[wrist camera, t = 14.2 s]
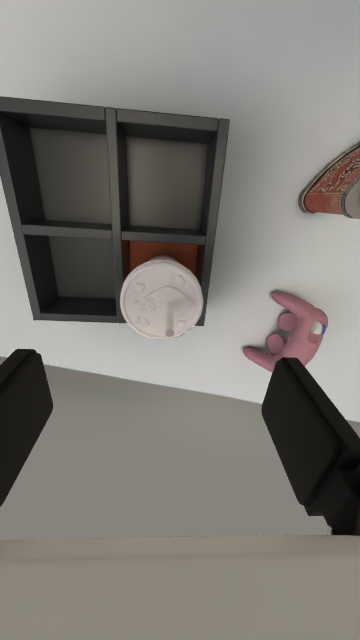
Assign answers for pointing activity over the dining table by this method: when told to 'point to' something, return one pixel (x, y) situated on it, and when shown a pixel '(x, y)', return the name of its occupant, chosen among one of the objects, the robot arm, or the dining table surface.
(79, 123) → the crate
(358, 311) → the dining table surface
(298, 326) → the video game controller
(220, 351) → the dining table surface
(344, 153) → the lighter
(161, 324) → the smoothie
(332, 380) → the dining table surface
